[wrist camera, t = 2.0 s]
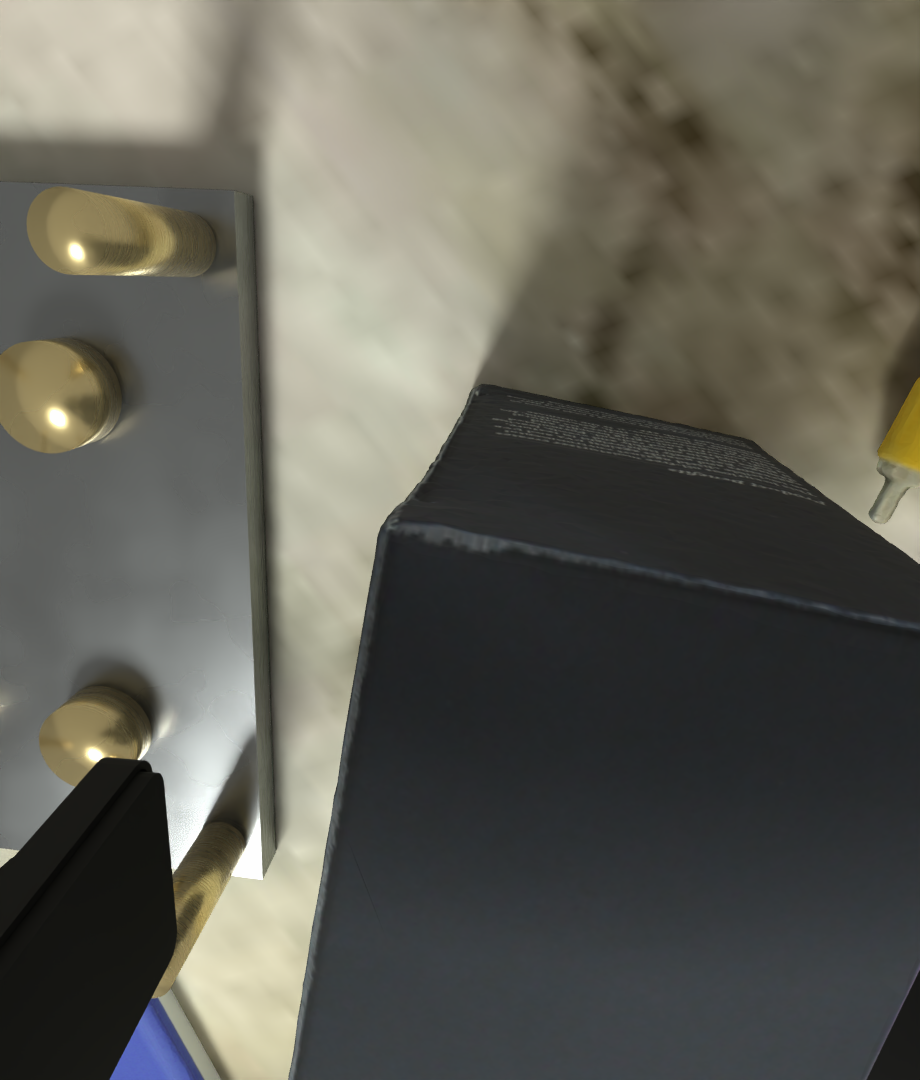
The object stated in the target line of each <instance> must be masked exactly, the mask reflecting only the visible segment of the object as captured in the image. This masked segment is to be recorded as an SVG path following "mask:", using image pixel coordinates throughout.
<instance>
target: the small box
mask: <svg viewBox="0 0 920 1080" xmlns="http://www.w3.org/2000/svg"><path fill="white" fill-rule="evenodd" d="M919 970H920V564H918V563H917V562H916V561H915V560H913V559H912V558H911V557H909V556H908V555H907V554H906V553H904V552H903V551H902V550H900V549H899V548H897V547H896V546H894V545H893V544H891V543H889V542H888V541H887V540H885V539H884V538H883V537H882V536H881V535H879V534H877V533H875V532H874V531H873V530H872V529H871V528H869V527H868V526H866V525H865V524H863V523H862V522H860V521H859V520H857V519H856V518H855V517H853V516H852V515H851V514H849V513H848V512H847V511H845V510H844V509H843V508H842V507H840V506H839V505H837V504H836V503H834V502H833V501H831V500H830V499H829V498H827V497H826V496H825V495H823V494H822V493H821V492H820V491H819V490H817V489H816V488H815V487H813V486H811V485H810V484H808V483H807V482H806V481H805V480H804V479H803V478H801V477H799V476H797V475H796V474H795V473H793V472H792V471H791V470H790V469H789V468H787V467H785V466H784V465H782V464H781V463H780V462H778V461H777V460H776V459H774V458H773V457H772V456H770V455H768V454H767V453H766V452H765V451H763V450H762V449H761V448H760V447H759V446H758V445H757V444H756V443H755V442H753V441H751V440H747V439H744V438H741V437H735V436H730V435H725V434H722V433H718V432H711V431H708V430H705V429H698V428H694V427H690V426H687V425H683V424H677V423H670V422H666V421H661V420H657V419H652V418H648V417H643V416H638V415H632V414H628V413H623V412H619V411H614V410H609V409H604V408H599V407H594V406H590V405H586V404H580V403H574V402H570V401H565V400H560V399H555V398H551V397H547V396H542V395H537V394H532V393H527V392H522V391H518V390H513V389H507V388H502V387H499V386H495V385H486V384H482V385H479V386H477V387H476V388H474V389H472V390H471V392H470V394H469V398H468V400H467V404H466V405H465V408H464V410H463V412H462V413H461V416H460V417H459V419H458V420H457V423H456V424H455V426H454V428H453V430H452V432H451V433H450V435H449V436H448V439H447V441H446V442H445V443H444V444H443V445H442V447H441V450H440V453H439V454H438V456H437V457H436V459H435V462H433V463H432V464H431V465H430V467H429V470H428V471H427V473H426V475H425V476H424V478H423V479H422V481H421V482H420V483H418V484H417V485H416V487H415V488H414V490H413V491H412V492H411V493H410V494H409V495H408V497H407V498H406V500H405V501H404V502H402V503H401V504H399V505H398V506H397V507H396V508H395V509H394V510H393V511H392V513H391V514H390V515H389V516H388V517H387V519H386V520H385V522H384V524H383V525H382V526H381V528H380V531H379V534H378V537H377V545H376V552H375V559H374V565H373V570H372V576H371V581H370V587H369V592H368V598H367V604H366V610H365V616H364V622H363V628H362V634H361V640H360V646H359V653H358V658H357V664H356V670H355V675H354V681H353V687H352V693H351V698H350V704H349V710H348V716H347V722H346V728H345V734H344V740H343V747H342V755H341V762H340V769H339V776H338V783H337V787H336V791H335V795H334V801H333V809H332V816H331V822H330V827H329V833H328V838H327V843H326V849H325V856H324V864H323V871H322V877H321V883H320V888H319V894H318V899H317V905H316V911H315V916H314V921H313V926H312V933H311V940H310V947H309V953H308V960H307V966H306V972H305V978H304V982H303V991H302V998H301V1004H300V1010H299V1015H298V1021H297V1030H296V1038H295V1046H294V1052H293V1058H292V1063H291V1068H290V1072H289V1078H288V1080H866V1079H867V1077H868V1075H869V1073H870V1071H871V1069H872V1067H873V1065H874V1063H875V1061H876V1059H877V1057H878V1055H879V1053H880V1051H881V1049H882V1047H883V1044H884V1042H885V1040H886V1038H887V1036H888V1034H889V1032H890V1030H891V1028H892V1026H893V1024H894V1022H895V1020H896V1018H897V1016H898V1014H899V1012H900V1010H901V1007H902V1005H903V1003H904V1001H905V999H906V997H907V995H908V993H909V991H910V989H911V987H912V985H913V983H914V981H915V979H916V977H917V975H918V973H919Z"/></svg>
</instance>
